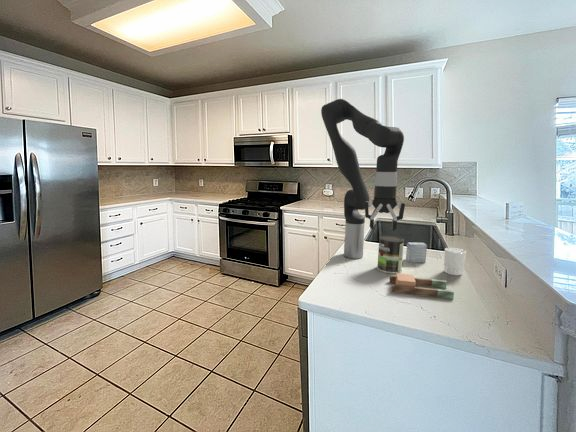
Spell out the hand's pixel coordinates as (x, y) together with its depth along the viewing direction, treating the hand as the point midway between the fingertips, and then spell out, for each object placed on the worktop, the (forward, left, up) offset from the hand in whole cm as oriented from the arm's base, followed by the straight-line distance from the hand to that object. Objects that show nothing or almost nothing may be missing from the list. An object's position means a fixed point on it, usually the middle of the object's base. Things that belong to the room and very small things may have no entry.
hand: (382, 229), depth 106 cm
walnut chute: (+14, 0, -22) cm, 26 cm away
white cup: (+31, +22, -22) cm, 44 cm away
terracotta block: (+9, 0, -22) cm, 24 cm away
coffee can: (+5, +19, -22) cm, 30 cm away
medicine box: (+18, +34, -22) cm, 44 cm away
